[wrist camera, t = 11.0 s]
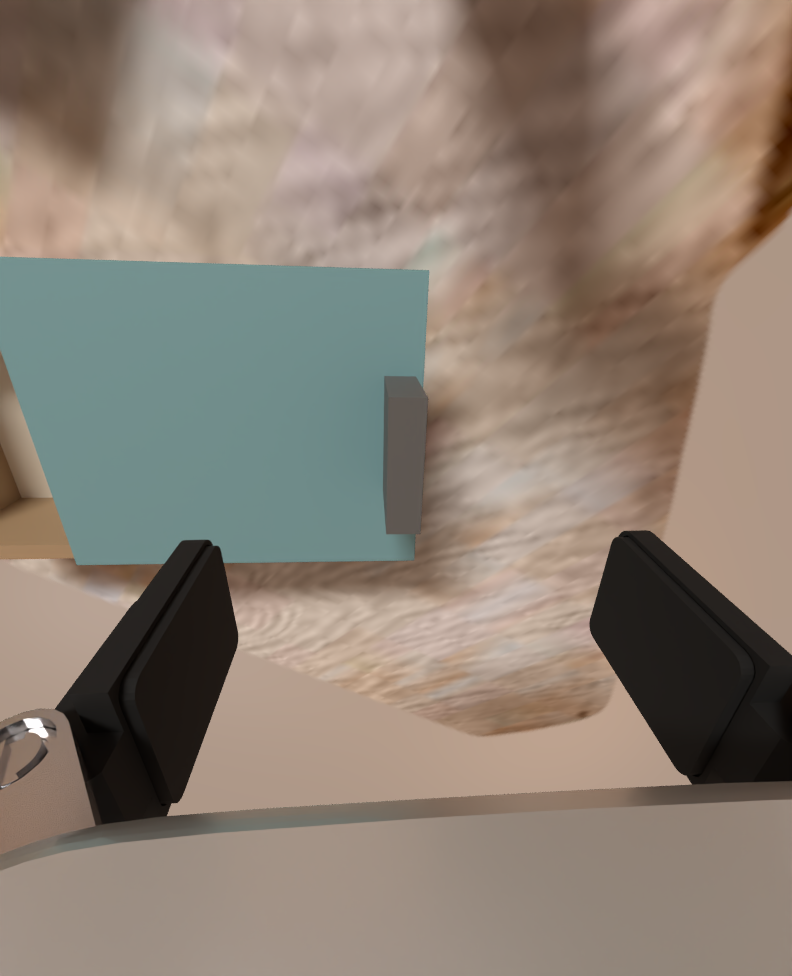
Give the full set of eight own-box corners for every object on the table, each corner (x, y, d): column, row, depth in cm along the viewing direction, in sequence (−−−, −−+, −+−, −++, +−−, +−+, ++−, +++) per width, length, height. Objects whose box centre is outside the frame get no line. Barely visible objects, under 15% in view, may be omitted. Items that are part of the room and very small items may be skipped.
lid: (427, 270, 25) (447, 263, 19) (413, 554, 33) (423, 613, 27) (-21, 256, 23) (-162, 243, 17) (83, 558, 32) (14, 623, 25)
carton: (258, 272, 32) (220, 264, 24) (281, 503, 41) (259, 555, 32) (-76, 261, 31) (-236, 250, 23) (20, 504, 39) (-72, 560, 31)
